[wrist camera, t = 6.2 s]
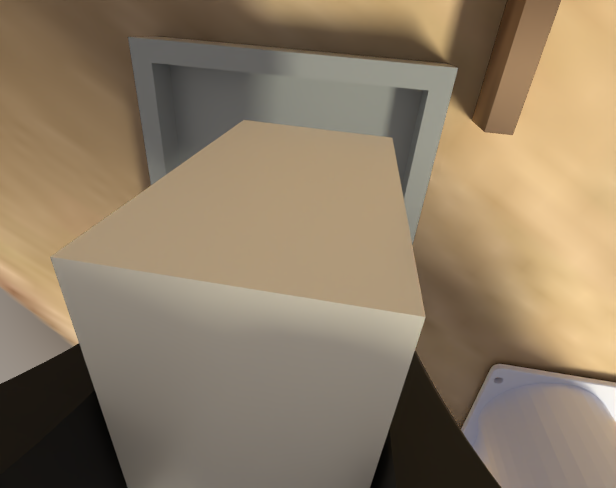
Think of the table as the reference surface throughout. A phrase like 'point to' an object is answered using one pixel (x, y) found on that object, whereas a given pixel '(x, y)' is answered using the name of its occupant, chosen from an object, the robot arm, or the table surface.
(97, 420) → the robot arm
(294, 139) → the beige rectangular block
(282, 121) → the grey tray
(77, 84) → the table surface
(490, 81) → the walnut dock
